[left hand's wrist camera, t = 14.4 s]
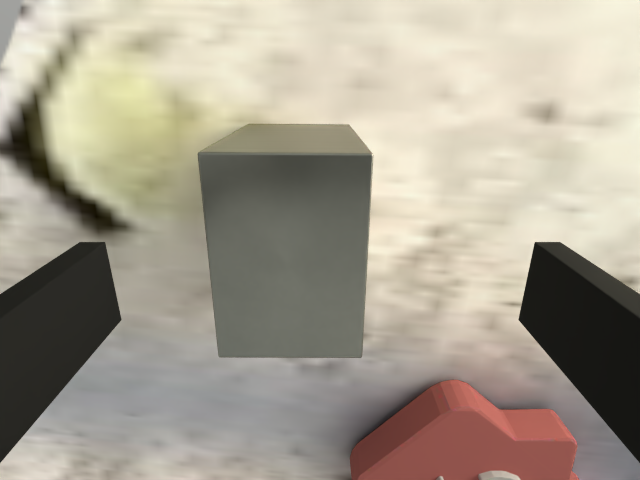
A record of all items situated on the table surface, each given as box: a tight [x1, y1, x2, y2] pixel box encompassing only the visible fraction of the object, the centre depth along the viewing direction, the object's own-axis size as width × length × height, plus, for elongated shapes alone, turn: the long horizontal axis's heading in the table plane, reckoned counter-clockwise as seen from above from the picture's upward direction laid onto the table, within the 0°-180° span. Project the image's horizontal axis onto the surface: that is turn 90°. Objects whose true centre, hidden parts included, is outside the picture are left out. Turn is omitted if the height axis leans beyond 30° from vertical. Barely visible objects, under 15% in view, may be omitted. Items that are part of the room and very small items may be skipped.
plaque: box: [350, 380, 579, 480], centre depth 32 cm, size 18×4×15 cm
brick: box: [198, 124, 373, 358], centre depth 20 cm, size 9×6×11 cm
